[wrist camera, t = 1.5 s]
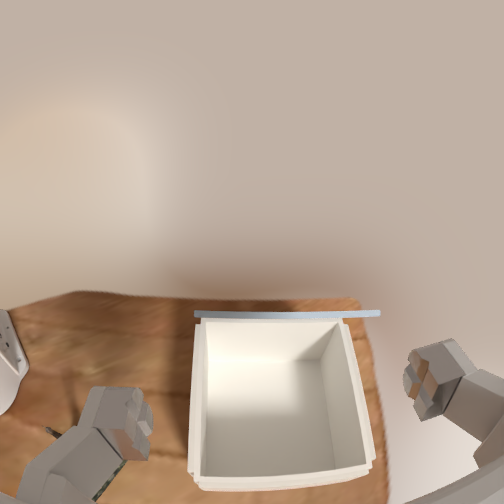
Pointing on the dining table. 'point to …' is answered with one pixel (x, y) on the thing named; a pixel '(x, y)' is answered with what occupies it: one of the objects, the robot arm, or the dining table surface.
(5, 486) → the dining table surface
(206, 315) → the lid flap
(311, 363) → the carton
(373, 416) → the dining table surface
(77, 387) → the dining table surface
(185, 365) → the dining table surface
